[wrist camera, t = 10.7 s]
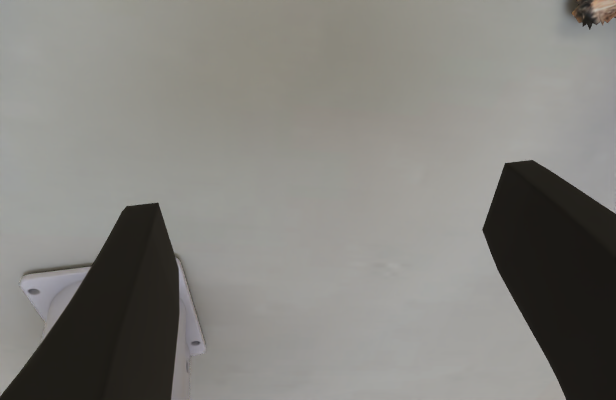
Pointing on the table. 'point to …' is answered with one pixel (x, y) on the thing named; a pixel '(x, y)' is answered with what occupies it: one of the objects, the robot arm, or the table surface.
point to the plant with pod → (595, 11)
